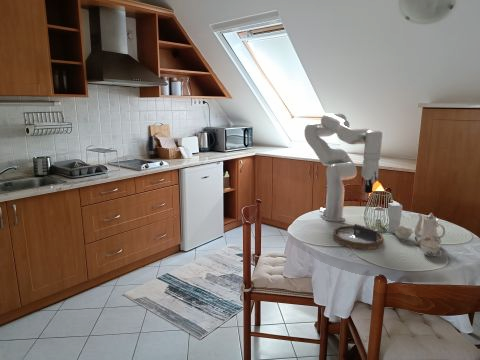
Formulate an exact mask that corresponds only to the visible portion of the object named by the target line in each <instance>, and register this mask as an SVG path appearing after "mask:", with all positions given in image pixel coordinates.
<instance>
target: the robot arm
mask: <svg viewBox="0 0 480 360" xmlns="http://www.w3.org/2000/svg"><path fill="white" fill-rule="evenodd" d="M334 134H336V135H337V137H338V139H339V141H342V142H343V143H346V144H348V145H364V148H363V161H362V165H361V166H362V167H361V173H360V176H361V178H364V181H365V182H364V184H365V185H364V193H365V194H369V193H372V189H373V185H374V184H375V182H376V181H378V179H379V178H378V177H379V168H380V167H379V163H380V162H379V161H380V159H381V151H382V143H383V142H382V140H383V132H382V131H380V130H373V129H369V128H350V122H349V120H347V117H346V115H345V114H343V113H341V112H337V113H335V112H334V113H333V112H330V113H325V114H323V116H322V117H321V118H320V121H317V122H311V123H308V124H307V125H306V126H305V128H304V138H305V140H306V143H307V144H308V145H309V146H310V148H311V149H312V150H313V152H314V153H315V155H316V157H317V158H318V159H319V162H320V163H321V164H322V165H323V166H324V167H325V166H326V167H327V168H326V170H325V171H326V172H325V173H326V199H325V207H324V208H323V207H320V208H319V213H322V215H321V217H322V219H323V220H325V221H328V222H331V223H332V222H334V223H340V222H343V221H346V216H345V215H343V211H344V204H345V203H344V200H345V185H344V183H343V181H345V180H353V179H355V177H356V176H357V174H358V169H357V166H356V165H355V163H354V161H353V160H352V158H351V157H350V156H349V155H348V153H347V152H346V151H345V150H344V149H341V148H331V147H330V146H329V144H328V142H327V141H325V140H324V139H322V137H324V138H325V137H331V136H333V135H334Z"/></svg>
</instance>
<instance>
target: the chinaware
mask: <svg viewBox="0 0 480 360" xmlns="http://www.w3.org/2000/svg"><path fill="white" fill-rule="evenodd" d="M418 216H419V218H418V221H417V223H416V225H415V227H414V231H413V229H412V228H410V227H404V226H400V225H399V227H398V228H397V227H394V229H395V232H394V233H395V235H396V236H397V238H399V239H398V240H400V241H401V242H403V241H404V242H405V241H407V240H408V239H409V238H410V237H412V234H413V233H414V235H415V236H414V241H416V245H417V246H418V247H420V249H421V251H422V252H423V253H424V255H425V256H427V257H441V256H442V250H441V249H440V248H441V247H442V240H441V238H443V237H444V236H445V235H446V229H445V226H444V225H443V224H441V223H439V220H440V219H438V218H437V217H436V216H435V215H434V214H433V212H430V213H429V214H428V215H427V216H426V215H425V216H423V214H421V213H418ZM439 226H440V227H441V228H442V235H441V236H439V233H438V230H437V228H439ZM438 252H439V254H440V255H437V253H438Z"/></svg>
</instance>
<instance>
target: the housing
mask: <svg viewBox="0 0 480 360" xmlns="http://www.w3.org/2000/svg"><path fill="white" fill-rule="evenodd" d="M344 228H354V225H342V226H339V227H336V228H334V229H333V235H332V239H333V242H335V243H337V244H339V245H341V246H343V247H345V248H350V249H354V250H360V251H372V250H373V251H374V250H378V249H379V248H381V247H383V246H384V239H385V238H384V236H383V234H382V233H381V232H379V231H378V234H377V235H378V236H379V238H380V239H378V241H377V242H370V243H362V242H353V241H350V240H346V239H343V238H341V237H340V236H338V235H337V232H338V231H339V230H341V229H344Z"/></svg>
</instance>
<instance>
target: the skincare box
mask: <svg viewBox="0 0 480 360" xmlns="http://www.w3.org/2000/svg"><path fill="white" fill-rule="evenodd" d="M392 201H393V203H388V216H389V224H388V230H387V231H386V232H387V233H396V232H395V229H394V227H397V228H398V227H400V223H401V218H402V213H403V205H402V204H401V203H399V202H397V201H395V200H392Z"/></svg>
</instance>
